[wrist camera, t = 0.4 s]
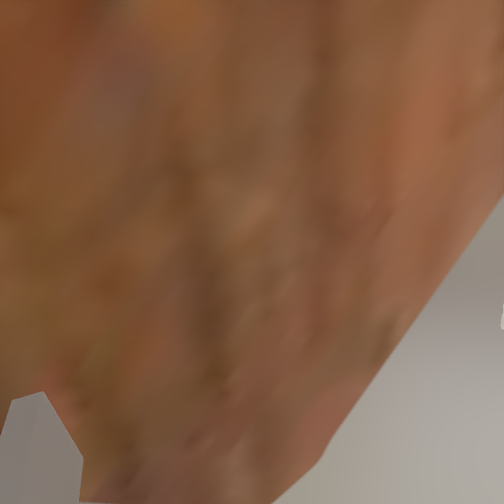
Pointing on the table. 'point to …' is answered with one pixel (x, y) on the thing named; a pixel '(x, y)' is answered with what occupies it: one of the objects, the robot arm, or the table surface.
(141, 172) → the table surface
